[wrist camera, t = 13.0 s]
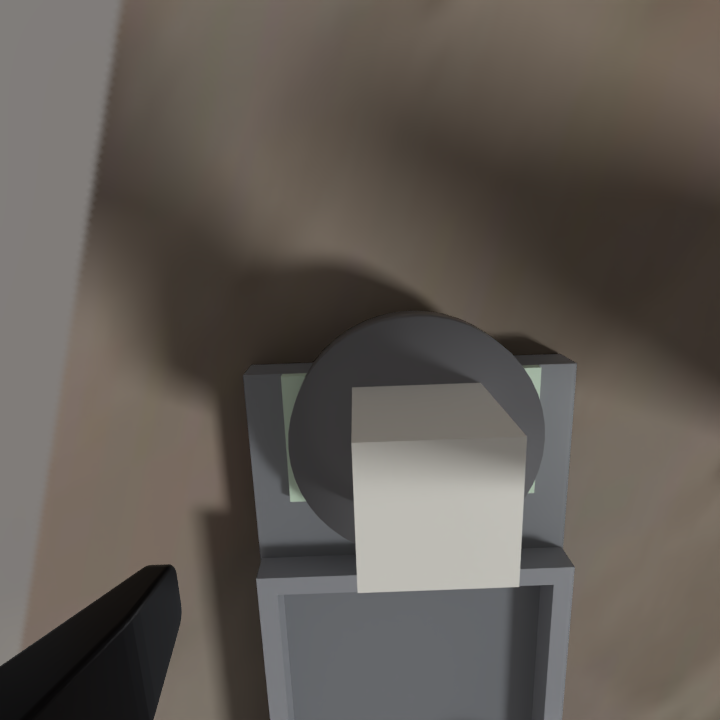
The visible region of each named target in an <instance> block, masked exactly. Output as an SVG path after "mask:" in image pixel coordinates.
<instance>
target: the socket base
mask: <svg viewBox="0 0 720 720" xmlns="http://www.w3.org/2000/svg"><path fill="white" fill-rule="evenodd" d="M514 357H515V358H516V359H517V360H518V361H519V363H520V364H521V365H522V366H523V368H524V369H525V371H526V372H527V374H528V375H529V377H530V378H531V380H532V382H533V384H534V386H535V389H536V391H537V393H538V396H539V399H540V402H541V406H542V409H543V416H544V422H545V443H544V451H543V457H542V461H541V464H540V468H539V471H538V473H537V476H536V478H535V481H534V483H533V485H532V487H531V489H530V490H529V492H528V494H527V495H526V497H525V499H524V505H523V524H522V543H521V562H520V581H519V587H507V588H480V589H453V590H427V591H400V592H373V593H358V591H357V567H356V544H355V543H353V542H351V541H349V540H347V539H345V538H343V537H342V536H340V535H339V534H338V533H336V532H335V531H333V530H332V529H331V528H329V527H328V526H327V525H326V524H325V523H324V522H323V521H322V520H321V519H320V518H319V517H318V516H317V515H316V514H315V512H314V511H313V510H312V509H311V508H310V506H309V505H308V503H307V502H306V500H305V498H304V497H303V495H302V494H301V492H300V489H299V487H298V485H297V483H296V481H295V478H294V474H293V471H292V468H291V464H290V457H289V450H288V432H289V425H290V418H291V414H292V411H293V407H294V404H295V401H296V398H297V395H298V392H299V389H300V387H301V385H302V383H303V380H304V378H305V376H306V374H307V372H308V371H309V369H310V367H311V366H312V364H313V363H292V364H264V365H251V366H250V367H249V368H248V370H247V371H246V372H245V374H244V375H243V380H244V391H245V401H246V412H247V422H248V432H249V443H250V453H251V464H252V474H253V485H254V495H255V506H256V516H257V526H258V537H259V547H260V558H261V564H260V567H259V571H258V574H257V578H256V583H257V593H258V603H259V613H260V623H261V633H262V643H263V653H264V663H265V673H266V683H267V693H268V703H269V713H270V720H562V712H563V701H564V689H565V677H566V665H567V653H568V641H569V629H570V617H571V606H572V594H573V582H574V570H575V567H574V565H573V564H572V562H571V561H570V559H569V558H568V556H567V555H566V553H565V552H564V550H563V539H564V526H565V513H566V500H567V487H568V474H569V461H570V447H571V434H572V421H573V408H574V395H575V382H576V369H577V363H575V362H574V361H572V360H570V359H568V358H567V357H565V356H563V355H561V354H544V355H516V356H514Z"/></svg>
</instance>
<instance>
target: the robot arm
mask: <svg viewBox="0 0 720 720" xmlns="http://www.w3.org/2000/svg"><path fill="white" fill-rule="evenodd" d="M180 622H181V601H180V594H179V588H178V581H177V574H176V570H175V568H174V567H173V566H172V565H169V564H168V565H148V566H146V567H144V568H142V569H141V570H140V571H138V572H137V573H135V574H134V575H132V576H131V577H129V578H128V579H126V580H125V581H124V582H122V583H121V584H119V585H118V586H116V587H115V588H113V589H112V590H110V591H109V592H108V593H106V594H105V595H103V596H102V597H100V598H99V599H97V600H96V601H94V602H93V603H92V604H90V605H89V606H87V607H86V608H84V609H83V610H81V611H80V612H78V613H77V614H76V615H74V616H73V617H71V618H70V619H68V620H67V621H65V622H64V623H63V624H61V625H60V626H58V627H57V628H55V629H54V630H52V631H51V632H49V633H48V634H47V635H45V636H44V637H42V638H41V639H39V640H38V641H36V642H35V643H33V644H32V645H31V646H29V647H28V648H26V649H25V650H23V651H22V652H20V653H19V654H17V655H16V656H15V657H13V658H12V659H10V660H9V661H7V662H6V663H4V664H3V665H1V666H0V720H153V719H154V716H155V712H156V709H157V705H158V702H159V698H160V695H161V691H162V687H163V684H164V680H165V677H166V673H167V669H168V666H169V662H170V659H171V655H172V651H173V648H174V644H175V641H176V637H177V633H178V630H179V626H180Z"/></svg>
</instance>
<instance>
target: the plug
mask: <svg viewBox="0 0 720 720" xmlns="http://www.w3.org/2000/svg"><path fill="white" fill-rule="evenodd" d="M544 443H545V422H544V416H543V409H542V406H541V402H540V399H539V396H538V393H537V391H536V389H535V386H534V384H533V382H532V380H531V378H530V377H529V375H528V374H527V372H526V371H525V369H524V368H523V366H522V365H521V364H520V363H519V361H518V360H517V359H516V358H515V357H514V356H513V355H512V353H510V352H509V351H508V350H507V349H506V348H505V347H503V346H502V345H501V344H500V343H499V342H497V341H496V340H495V339H493V338H492V337H491V336H489V335H488V334H487V333H485V332H483V331H482V330H480V329H479V328H477V327H475V326H474V325H472V324H470V323H468V322H466V321H463V320H461V319H459V318H456V317H452V316H449V315H446V314H442V313H436V312H430V311H402V312H393V313H389V314H385V315H380V316H377V317H374V318H372V319H369V320H366V321H364V322H362V323H360V324H358V325H356V326H354V327H352V328H350V329H348V330H347V331H346V332H344V333H343V334H341V335H340V336H339V337H337V338H336V339H335V340H334V341H333V342H331V343H330V344H329V345H328V346H327V347H326V348H325V349H324V350H323V351H322V353H321V354H320V355H319V356H318V357H317V359H316V360H315V361H314V362H313V364H312V366H311V367H310V369H309V371H308V372H307V374H306V376H305V378H304V380H303V383H302V385H301V387H300V389H299V392H298V395H297V398H296V401H295V404H294V407H293V411H292V414H291V418H290V425H289V432H288V450H289V457H290V464H291V468H292V471H293V474H294V478H295V481H296V483H297V485H298V487H299V489H300V492H301V494H302V495H303V497H304V498H305V500H306V502H307V503H308V505H309V506H310V508H311V509H312V510H313V511H314V512H315V514H316V515H317V516H318V517H319V518H320V519H321V520H322V521H323V522H324V523H325V524H326V525H327V526H328V527H329V528H331V529H332V530H333V531H335V532H336V533H338V534H339V535H340V536H342V537H343V538H345V539H347V540H349V541H351V542H353V543H355V544H356V567H357V591H358V593H373V592H400V591H427V590H453V589H480V588H507V587H519V581H520V562H521V543H522V524H523V505H524V499H525V497H526V495H527V494H528V492H529V490H530V489H531V487H532V485H533V483H534V481H535V478H536V476H537V473H538V471H539V468H540V464H541V461H542V457H543V451H544Z"/></svg>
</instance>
